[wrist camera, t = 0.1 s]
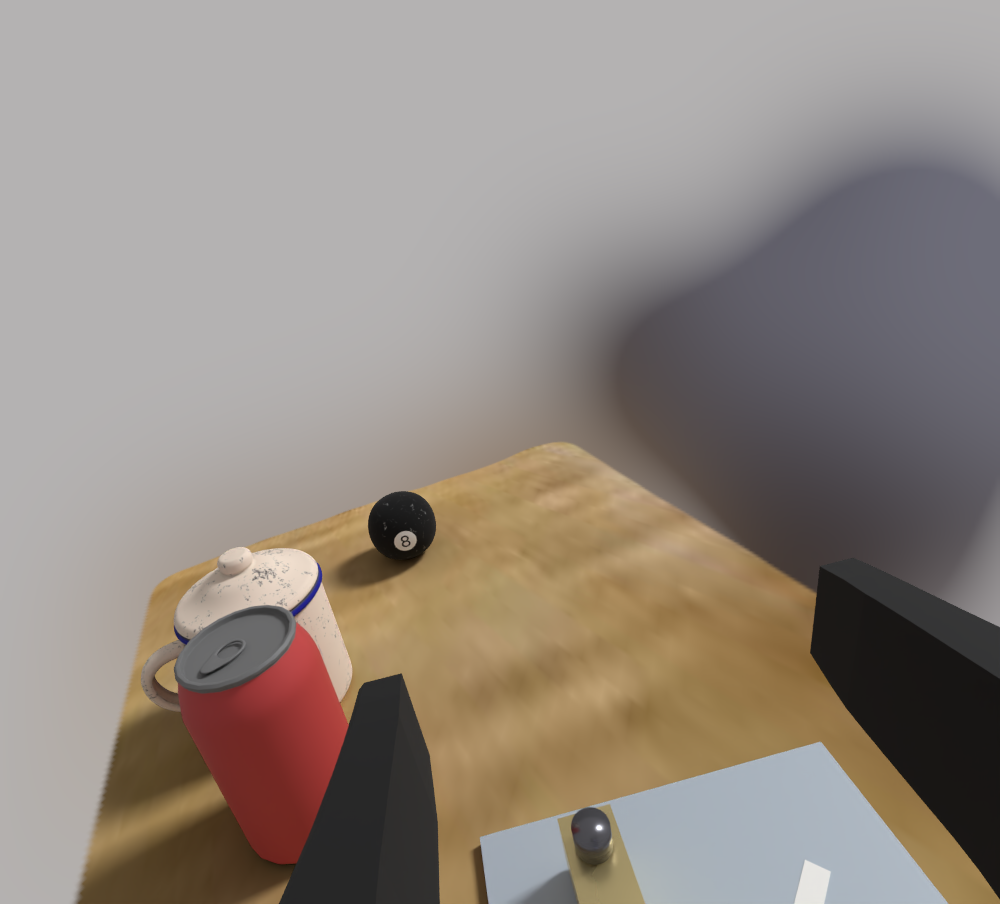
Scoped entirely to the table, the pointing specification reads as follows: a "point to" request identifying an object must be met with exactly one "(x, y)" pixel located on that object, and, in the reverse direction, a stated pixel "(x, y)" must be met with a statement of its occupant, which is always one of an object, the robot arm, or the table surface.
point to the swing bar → (598, 858)
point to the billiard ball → (402, 525)
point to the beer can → (263, 723)
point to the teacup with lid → (255, 583)
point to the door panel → (730, 842)
